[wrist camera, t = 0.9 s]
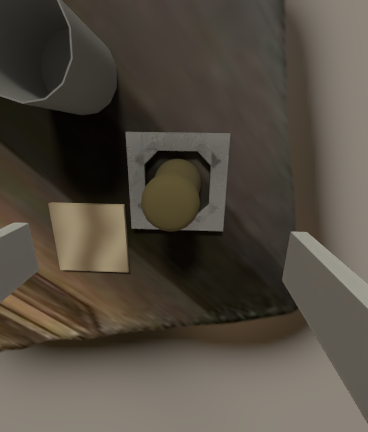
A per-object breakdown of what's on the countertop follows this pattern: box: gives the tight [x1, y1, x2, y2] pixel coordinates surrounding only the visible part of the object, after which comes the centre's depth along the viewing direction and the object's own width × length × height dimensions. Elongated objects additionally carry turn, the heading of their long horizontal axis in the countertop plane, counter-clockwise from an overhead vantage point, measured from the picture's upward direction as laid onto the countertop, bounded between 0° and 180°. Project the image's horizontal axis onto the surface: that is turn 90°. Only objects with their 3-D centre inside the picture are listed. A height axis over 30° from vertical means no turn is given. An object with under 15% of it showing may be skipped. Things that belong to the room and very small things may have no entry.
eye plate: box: [126, 132, 230, 231], centre depth 29 cm, size 12×12×1 cm
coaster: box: [48, 202, 130, 272], centre depth 32 cm, size 10×10×1 cm
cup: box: [0, 0, 117, 115], centre depth 21 cm, size 8×8×10 cm
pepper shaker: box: [141, 159, 202, 232], centre depth 24 cm, size 6×6×11 cm
